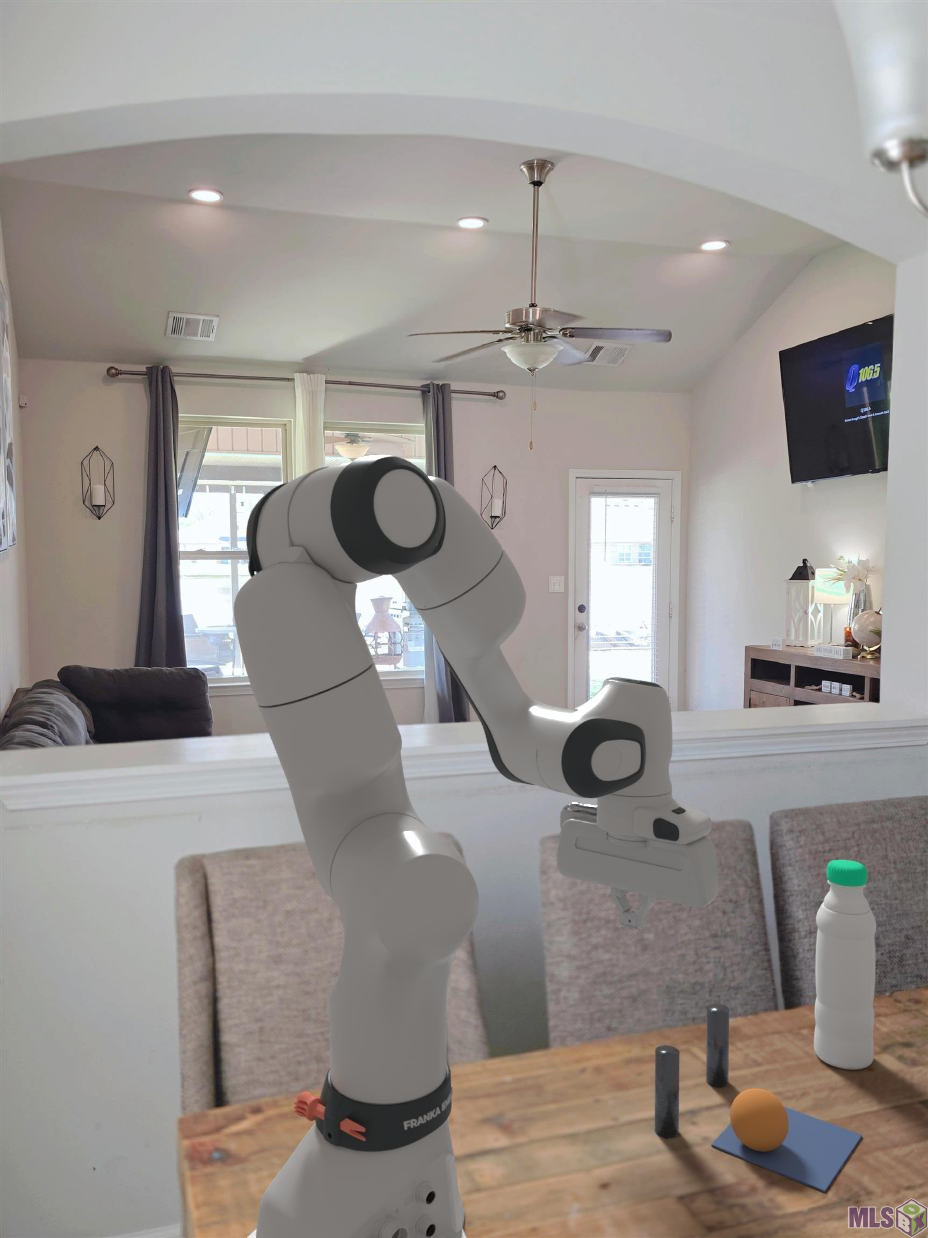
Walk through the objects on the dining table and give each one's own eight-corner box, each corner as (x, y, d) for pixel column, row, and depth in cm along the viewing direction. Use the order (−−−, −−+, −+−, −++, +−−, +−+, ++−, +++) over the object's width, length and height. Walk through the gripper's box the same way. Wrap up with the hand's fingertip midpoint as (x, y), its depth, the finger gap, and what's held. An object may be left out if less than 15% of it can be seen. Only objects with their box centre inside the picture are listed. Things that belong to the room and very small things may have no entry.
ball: (769, 1114, 96) (727, 1078, 102) (752, 1168, 97) (711, 1129, 102) (807, 1109, 100) (764, 1075, 105) (791, 1161, 100) (749, 1124, 105)
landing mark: (824, 1192, 93) (824, 1190, 93) (711, 1146, 101) (711, 1144, 101) (862, 1136, 103) (862, 1135, 103) (755, 1098, 110) (755, 1096, 110)
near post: (672, 1141, 102) (672, 1060, 102) (650, 1132, 104) (651, 1052, 103) (682, 1130, 104) (683, 1050, 104) (661, 1121, 106) (662, 1043, 105)
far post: (722, 1089, 112) (723, 1016, 112) (702, 1082, 114) (703, 1009, 113) (731, 1080, 114) (732, 1008, 114) (711, 1073, 116) (712, 1002, 115)
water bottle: (879, 1075, 115) (883, 874, 114) (818, 1069, 117) (822, 870, 116) (866, 1047, 122) (870, 857, 121) (809, 1041, 124) (812, 853, 122)
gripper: (546, 804, 117) (546, 914, 117) (700, 832, 104) (699, 956, 104) (574, 795, 121) (574, 900, 122) (725, 821, 108) (723, 939, 109)
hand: (633, 926), depth 113 cm, fingers closed
